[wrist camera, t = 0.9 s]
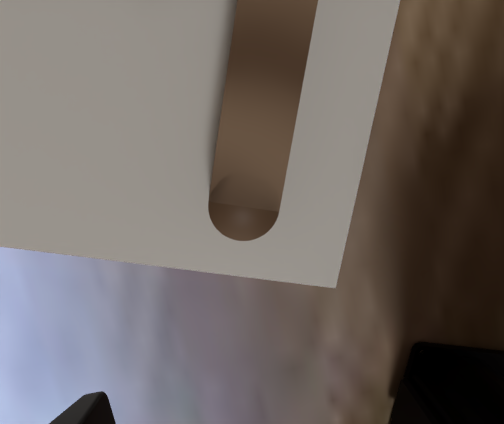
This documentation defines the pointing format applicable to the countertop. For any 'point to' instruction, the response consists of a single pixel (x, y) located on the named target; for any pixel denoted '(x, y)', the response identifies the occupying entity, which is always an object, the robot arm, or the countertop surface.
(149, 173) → the base board
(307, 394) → the countertop surface
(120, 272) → the countertop surface
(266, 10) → the link
